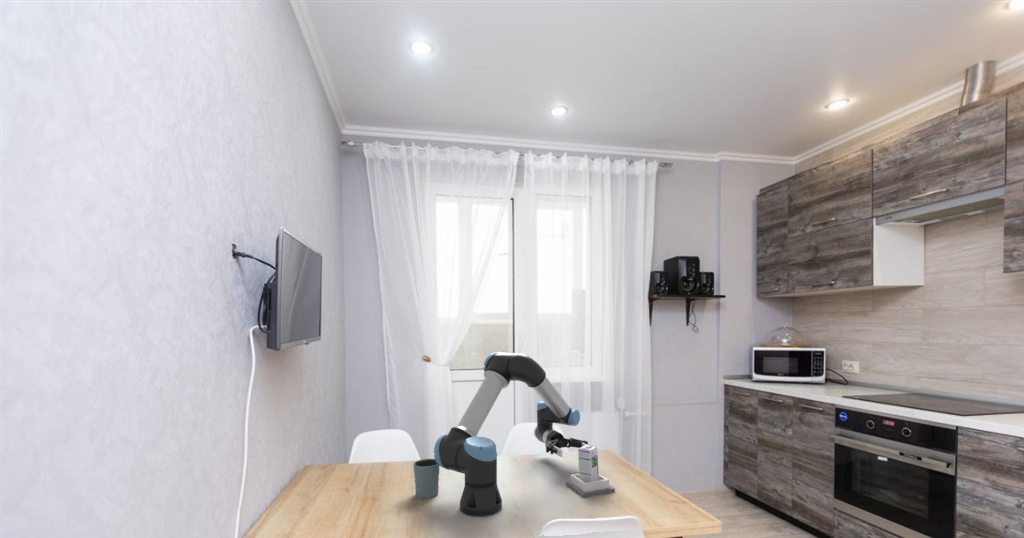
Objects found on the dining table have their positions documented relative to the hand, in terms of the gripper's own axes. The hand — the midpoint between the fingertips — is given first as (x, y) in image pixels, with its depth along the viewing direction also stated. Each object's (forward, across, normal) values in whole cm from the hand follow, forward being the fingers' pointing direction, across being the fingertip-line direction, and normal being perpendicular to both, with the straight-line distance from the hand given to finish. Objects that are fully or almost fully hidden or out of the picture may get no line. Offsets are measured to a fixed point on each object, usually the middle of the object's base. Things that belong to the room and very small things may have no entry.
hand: (576, 451), depth 188 cm
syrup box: (+10, 0, -10) cm, 14 cm away
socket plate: (+10, 0, -11) cm, 15 cm away
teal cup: (-9, +61, -12) cm, 63 cm away
